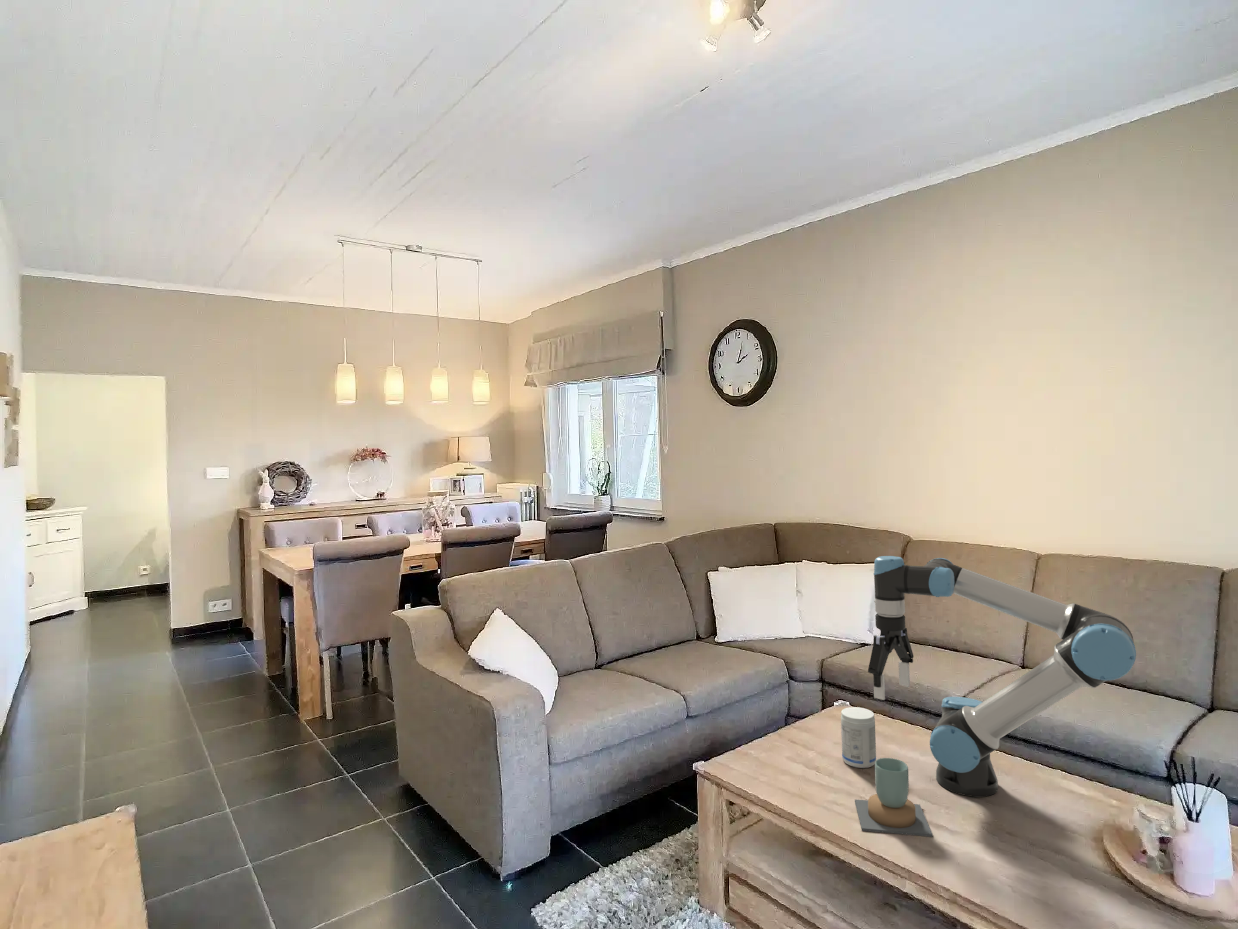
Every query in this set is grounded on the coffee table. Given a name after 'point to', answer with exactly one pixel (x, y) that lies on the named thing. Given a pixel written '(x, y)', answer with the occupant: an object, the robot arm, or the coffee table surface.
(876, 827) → the stand
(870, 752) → the supplement tub
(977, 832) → the coffee table surface
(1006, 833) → the coffee table surface
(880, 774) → the cup
